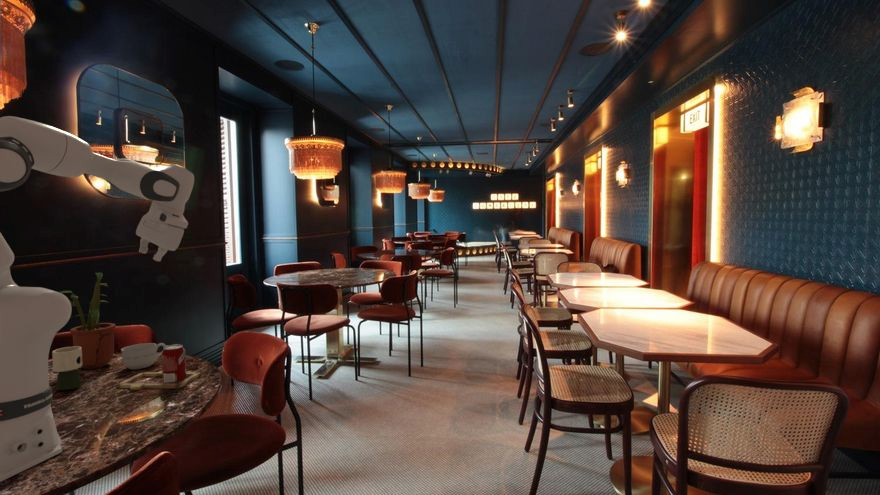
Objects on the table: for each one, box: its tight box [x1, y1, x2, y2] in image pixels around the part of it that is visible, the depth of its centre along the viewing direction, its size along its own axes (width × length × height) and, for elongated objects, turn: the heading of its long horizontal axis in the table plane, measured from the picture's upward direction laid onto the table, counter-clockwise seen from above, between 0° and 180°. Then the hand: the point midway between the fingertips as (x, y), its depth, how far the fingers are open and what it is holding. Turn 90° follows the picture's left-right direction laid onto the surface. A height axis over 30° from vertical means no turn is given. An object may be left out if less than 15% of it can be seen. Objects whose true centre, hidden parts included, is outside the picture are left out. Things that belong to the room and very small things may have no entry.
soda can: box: [161, 343, 187, 384], centre depth 144 cm, size 7×7×12 cm
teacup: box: [120, 342, 167, 371], centre depth 160 cm, size 14×11×8 cm
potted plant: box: [59, 272, 116, 370], centre depth 156 cm, size 17×16×35 cm
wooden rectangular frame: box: [115, 369, 202, 391], centre depth 144 cm, size 15×21×1 cm
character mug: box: [51, 346, 83, 391], centre depth 138 cm, size 11×7×13 cm, turn 39°
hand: (149, 256), depth 134 cm, fingers open, 8 cm apart
